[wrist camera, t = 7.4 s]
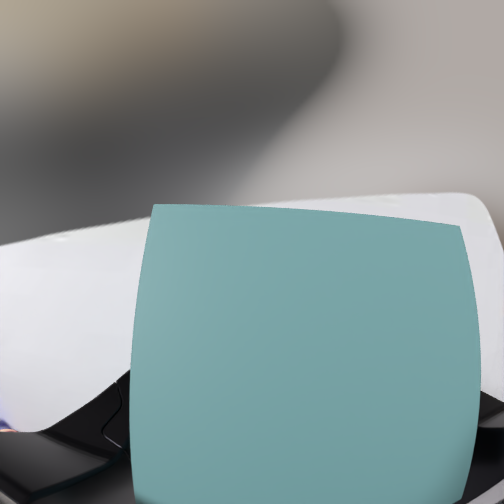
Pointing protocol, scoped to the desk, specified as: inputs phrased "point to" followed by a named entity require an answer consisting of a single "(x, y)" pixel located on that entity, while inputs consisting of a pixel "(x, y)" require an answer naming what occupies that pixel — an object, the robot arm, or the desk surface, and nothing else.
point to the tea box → (302, 359)
